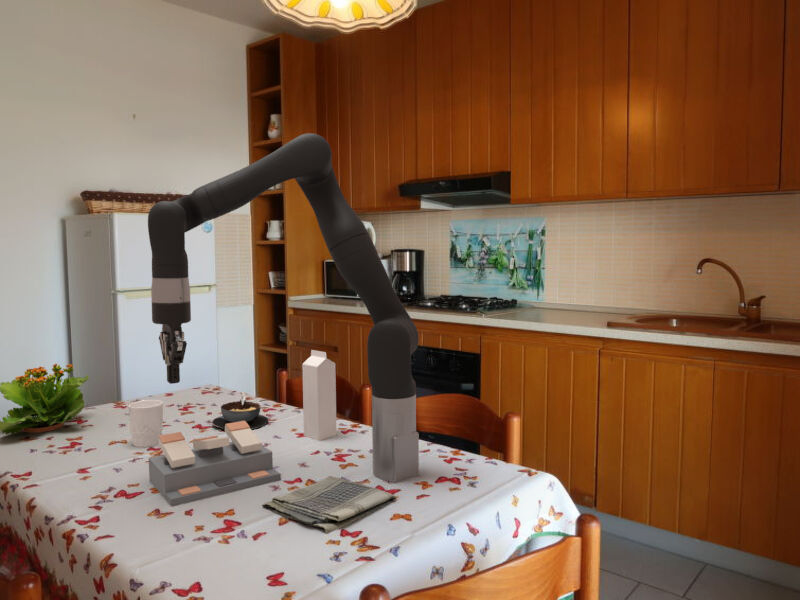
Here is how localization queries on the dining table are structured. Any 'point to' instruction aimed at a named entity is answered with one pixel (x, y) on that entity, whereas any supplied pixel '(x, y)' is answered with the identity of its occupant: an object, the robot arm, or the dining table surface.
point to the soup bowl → (241, 414)
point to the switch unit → (211, 473)
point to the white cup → (146, 422)
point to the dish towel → (330, 503)
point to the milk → (319, 396)
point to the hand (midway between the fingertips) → (173, 382)
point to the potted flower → (42, 400)
